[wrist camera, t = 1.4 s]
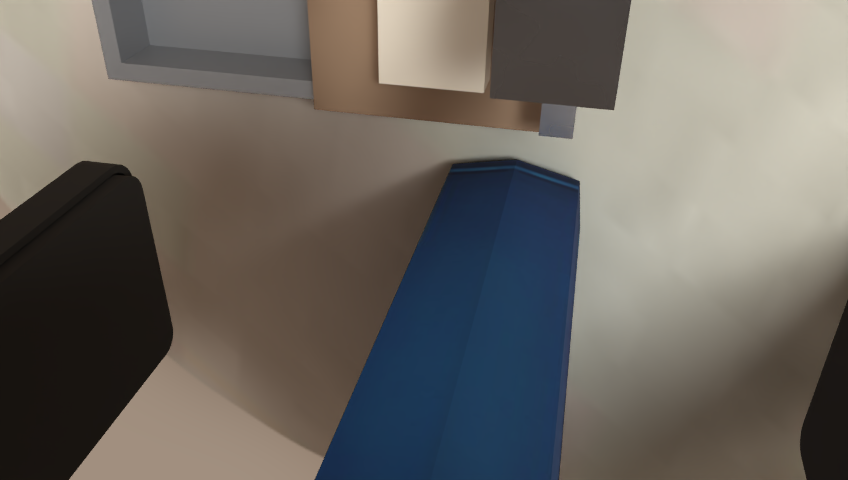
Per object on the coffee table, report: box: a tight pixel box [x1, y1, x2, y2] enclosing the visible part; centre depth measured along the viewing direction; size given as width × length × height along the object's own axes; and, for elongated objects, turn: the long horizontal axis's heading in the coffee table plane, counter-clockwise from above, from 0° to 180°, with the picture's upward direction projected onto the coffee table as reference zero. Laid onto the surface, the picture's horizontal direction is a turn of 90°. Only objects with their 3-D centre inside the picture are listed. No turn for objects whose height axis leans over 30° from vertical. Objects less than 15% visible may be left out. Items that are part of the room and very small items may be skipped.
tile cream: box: [377, 0, 495, 93], centre depth 29 cm, size 4×4×2 cm
